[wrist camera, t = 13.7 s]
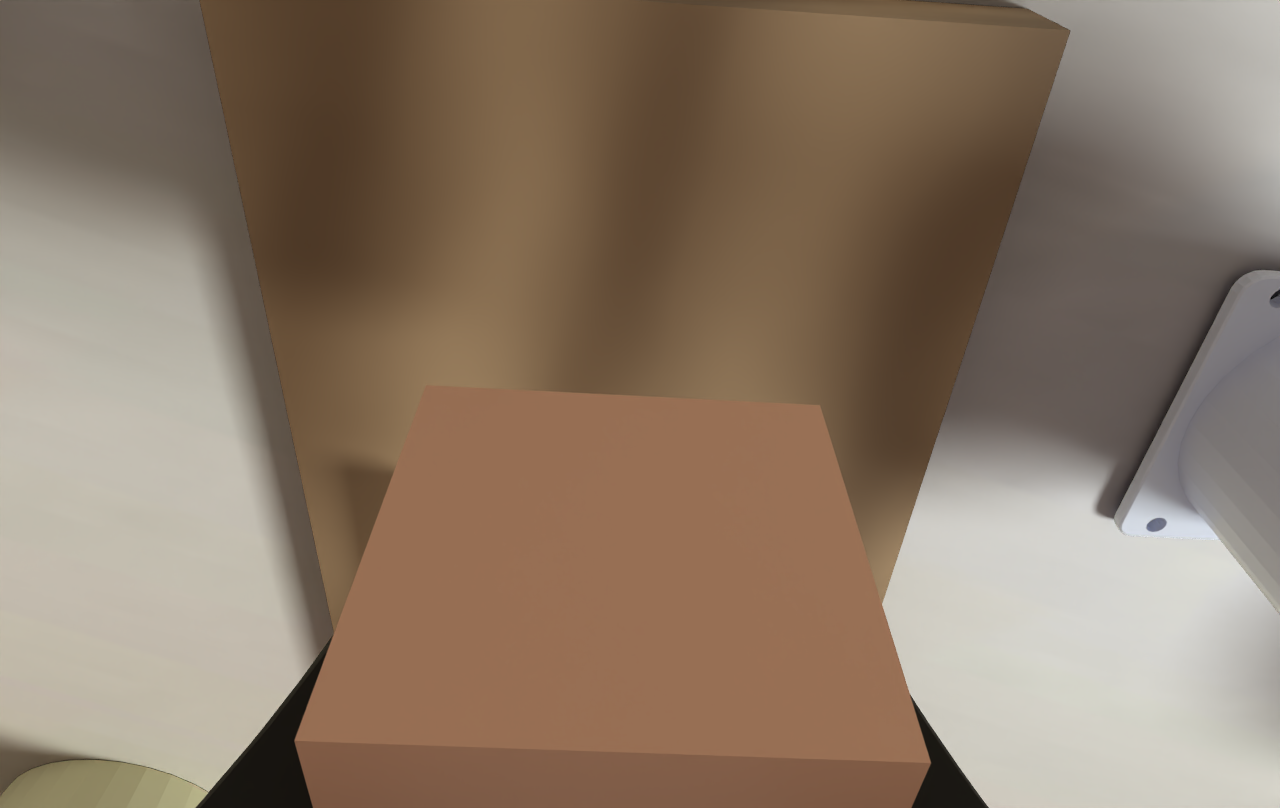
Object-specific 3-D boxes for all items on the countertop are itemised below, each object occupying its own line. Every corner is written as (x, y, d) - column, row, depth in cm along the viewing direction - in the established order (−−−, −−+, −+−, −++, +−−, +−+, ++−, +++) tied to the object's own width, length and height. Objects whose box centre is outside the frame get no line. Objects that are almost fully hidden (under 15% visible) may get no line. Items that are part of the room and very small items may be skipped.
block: (819, 405, 11) (931, 763, 7) (762, 659, 14) (818, 1021, 10) (425, 385, 11) (294, 741, 7) (451, 647, 14) (369, 1010, 9)
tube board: (1026, 8, 16) (1139, 66, 13) (781, 833, 34) (799, 960, 30) (239, -46, 16) (118, -4, 12) (397, 821, 33) (367, 949, 29)
